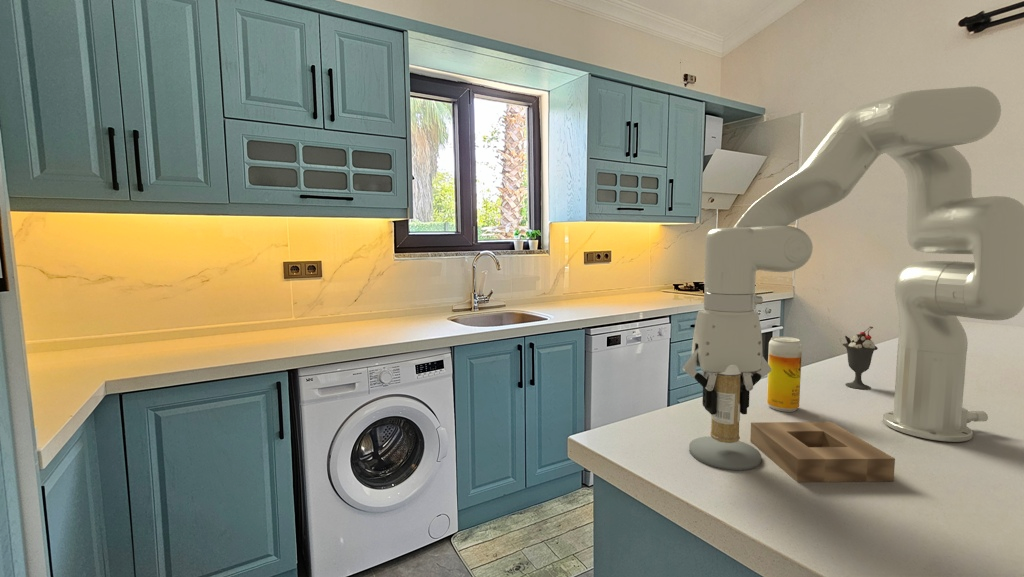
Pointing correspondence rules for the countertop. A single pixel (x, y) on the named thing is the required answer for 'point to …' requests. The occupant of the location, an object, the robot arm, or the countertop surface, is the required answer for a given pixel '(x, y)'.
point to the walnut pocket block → (821, 452)
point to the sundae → (859, 357)
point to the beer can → (784, 373)
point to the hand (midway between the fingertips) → (725, 410)
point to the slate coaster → (725, 454)
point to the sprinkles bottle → (727, 406)
